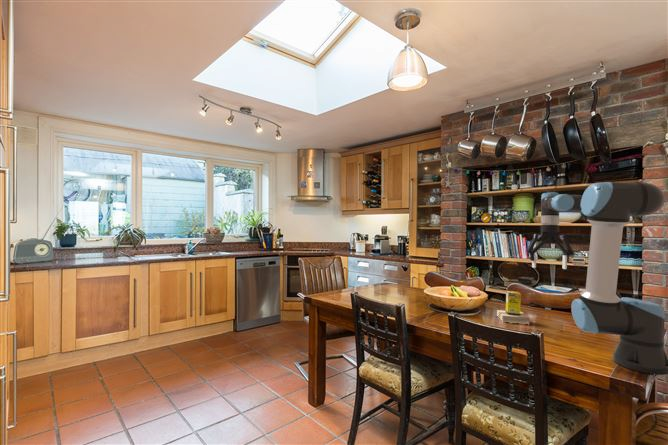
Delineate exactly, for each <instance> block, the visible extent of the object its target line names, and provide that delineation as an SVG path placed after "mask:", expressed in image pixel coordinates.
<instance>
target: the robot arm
mask: <svg viewBox="0 0 668 445" xmlns="http://www.w3.org/2000/svg"><path fill="white" fill-rule="evenodd" d="M540 199H541V200H540V204H541V205H540V224H541V225H540V234H538V233H534V234H533V236H532V240H531V241H530V243H529V245H528V247H527V248H526V250H525V253H527V254H529V257H530V258H529V259H530V261H531V268H534V269H536V268H537V254H536V253H537V252H538V251H539V249H541V247H543V245H546V244H547V245H549V244H552V245H555V246H556V247H557V248H558V249H559V250H560V251H561V253H563V254H562V266H561V267H562V269H563V270H567V269H568V263H569V262H570V256H571V255H574V253H575V252H574V251H573V248H572V247H571V245H570V243H569V241H568V238H567V235H566V234H561V235H560V234H559V233H560V226H559V225H560V212H570V213H571V212H574V213H575V212H581V213H582V215H584V216H586V217H587V218H586V221H587V222H588V223H590V225H591V230H590V239H589V240H590V242H589V248H588V249H589V251H588V262H587V273H586V282H585V289H583V291H582V290H581V291H580V292H579V298H575V299H573V300H572V302H571V305H570V307H571V314H572V319H573V321H574V323H575V324H576V326H577V327H578V329H580V330H581V331H582V332H585V333H589V334H591V333H592V334H597V335H598V334H600V335H601V334H602V335H615V336H619V341H618V343H617V345H616V347H615V349H614V351H613V354H612V361H613V362H614V363H616V364H617V365H619V366H621V367H624V368H626V369H629V370H632V371H635V372H640V373H644V374H648V373H649V374H650V375H658V376H659V375H660V376H666V375H668V356H667V353H666V350H665V320H666V313H665V312H666V311H665V308H664V307H663V306H662V305H660V304H658V303H655V302H651V301H648V300H643V299H640V298H639V299H638V298H634V297H626V296H625V297H624V296H623V297H619V296H618V295H617V287H618V278H619V270H620V269H619V267H620V258H621V251H622V250H621V248H622V240H623V230H624V227H625V226H626V225H628V224H630V220H631V217H644V216H645V217H646V216H650V215H651V216H652V215H653V214H655V213H657V212H658V211H660V210H661V209H662V207H663V206H664V204H665V203H666V195H665V194H664V191H663V190H662V189H661V188H660V187H658V185H654V184H652V183H648V182H642V181H641V182H639V181H638V182H637V181H635V182H631V181H630V182H627V181H626V182H624V181H621V182H620V181H619V182H618V181H616V182H615V181H613V182H612V181H604V182H595V183H592V184H590V185H589V186H588V187H587V188H586V189H585V190H584V192H583V194H582V195H581V194H568V193H564V194H563V193H562V194H559V192H544V193H542V194H541V197H540ZM539 239H541V240H540V241H539V242H538V240H539ZM559 240H561V241H562V243H563V244H561V242H560V241H559ZM537 242H538V243H537ZM536 243H537V244H536ZM535 245H536V246H535Z"/></svg>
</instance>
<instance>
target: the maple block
mask: <svg viewBox="0 0 668 445" xmlns="http://www.w3.org/2000/svg"><path fill="white" fill-rule="evenodd" d="M497 316H498V317H499V318H500V319H501V320H502V321H503V322H509V323H508V324H512V323H519V324H518V325H525V324H528V325H527V326H530V319H531V318H530V317H529V316H528V315H527V314H526V313H524V312H523V311H520V315H512V314H507V313H506V309H505V310H502V309H496V317H497ZM498 317H497V318H498ZM499 318H498V319H499ZM500 319H499V320H500ZM501 320H500V321H501ZM502 321H501V322H502ZM503 322H502V323H503Z"/></svg>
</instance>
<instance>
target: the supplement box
mask: <svg viewBox="0 0 668 445" xmlns="http://www.w3.org/2000/svg"><path fill="white" fill-rule="evenodd" d="M505 291H506V292H505V310H506V313H507V314H512V315H520V312H521V304H522V293H520V292H519V291H512V290H505Z"/></svg>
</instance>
